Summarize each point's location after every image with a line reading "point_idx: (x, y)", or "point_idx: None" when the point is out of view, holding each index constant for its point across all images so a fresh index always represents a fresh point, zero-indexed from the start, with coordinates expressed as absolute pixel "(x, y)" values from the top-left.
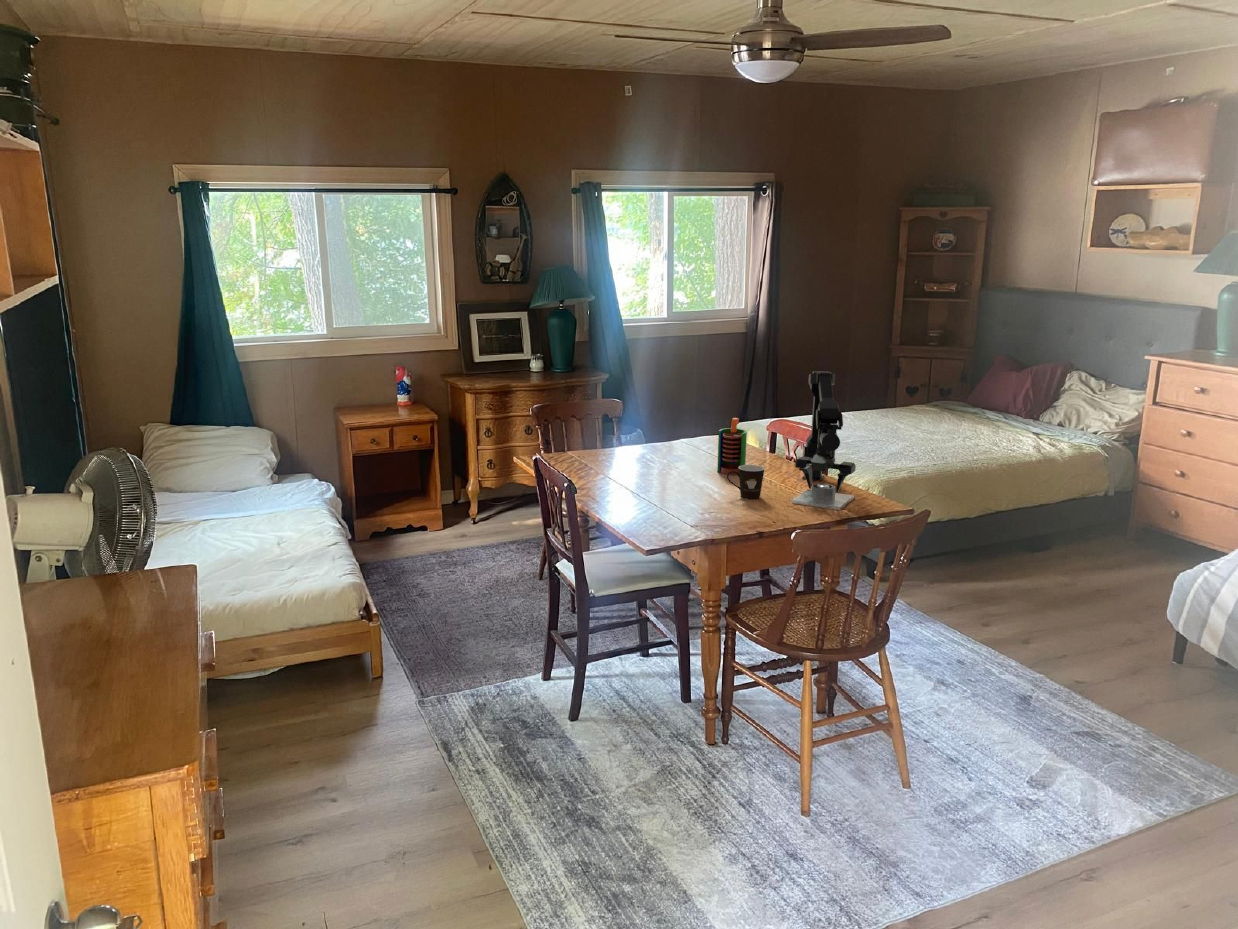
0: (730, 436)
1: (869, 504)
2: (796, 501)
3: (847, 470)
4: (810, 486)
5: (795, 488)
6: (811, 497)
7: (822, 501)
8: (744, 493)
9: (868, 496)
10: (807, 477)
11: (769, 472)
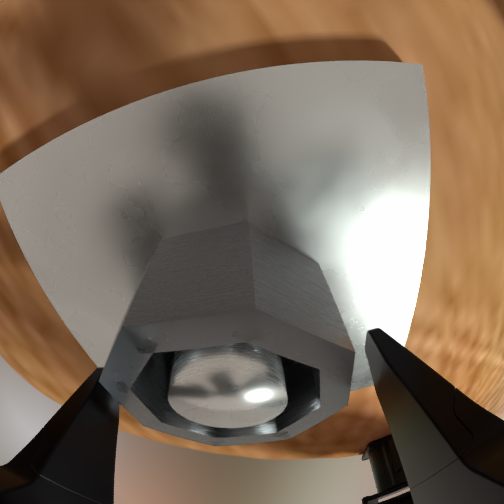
0: None
1: (44, 362)
2: (379, 62)
3: None
4: (375, 350)
5: (442, 361)
6: (316, 260)
7: (159, 212)
8: None
9: (137, 430)
10: (456, 414)
11: (491, 392)
